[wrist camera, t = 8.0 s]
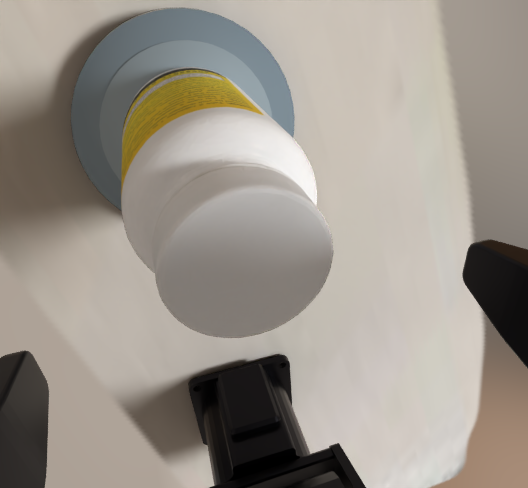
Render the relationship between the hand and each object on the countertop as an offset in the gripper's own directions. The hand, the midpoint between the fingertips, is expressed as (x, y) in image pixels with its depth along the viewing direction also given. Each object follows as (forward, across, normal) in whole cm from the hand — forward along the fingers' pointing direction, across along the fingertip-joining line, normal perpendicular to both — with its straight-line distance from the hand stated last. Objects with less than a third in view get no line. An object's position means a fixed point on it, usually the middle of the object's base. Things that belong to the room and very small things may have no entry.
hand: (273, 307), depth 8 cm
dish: (+12, 0, 0) cm, 12 cm away
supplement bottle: (+11, 0, 0) cm, 11 cm away
